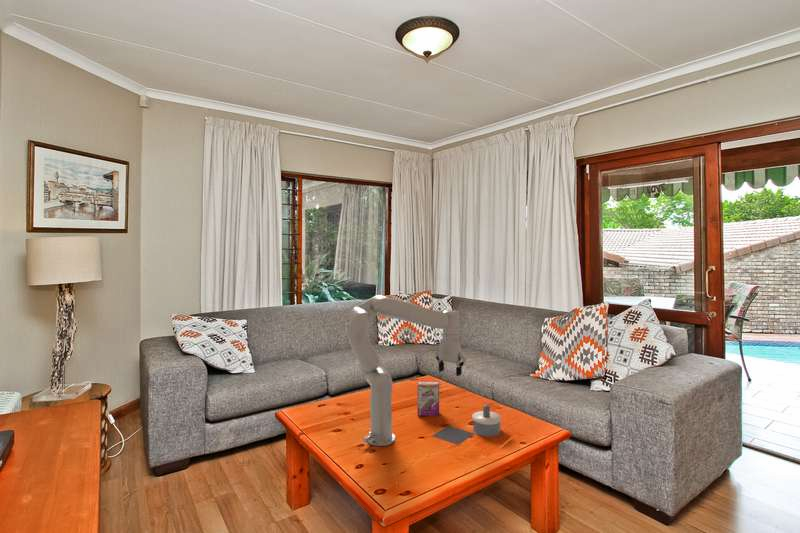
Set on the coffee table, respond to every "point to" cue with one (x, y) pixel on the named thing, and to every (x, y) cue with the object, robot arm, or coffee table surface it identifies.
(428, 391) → the candy bar box
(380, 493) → the coffee table surface
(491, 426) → the pot
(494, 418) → the lid
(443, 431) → the mat
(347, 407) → the coffee table surface
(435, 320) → the robot arm
